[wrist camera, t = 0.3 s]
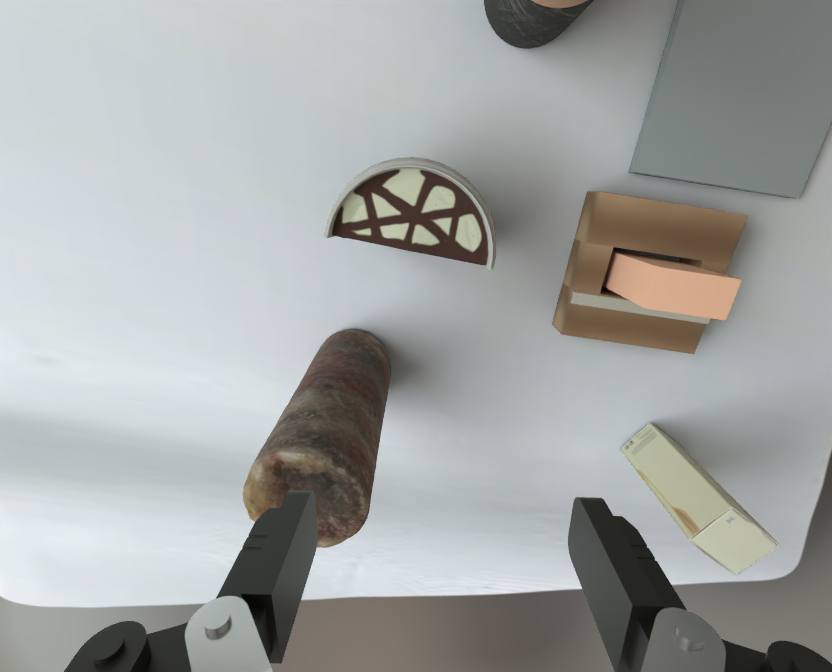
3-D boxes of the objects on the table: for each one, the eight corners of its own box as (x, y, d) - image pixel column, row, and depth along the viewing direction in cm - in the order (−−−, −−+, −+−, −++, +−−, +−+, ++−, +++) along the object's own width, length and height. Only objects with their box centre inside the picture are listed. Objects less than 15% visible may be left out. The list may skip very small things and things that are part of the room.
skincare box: (617, 448, 44) (684, 539, 33) (649, 420, 43) (730, 504, 32) (658, 481, 46) (737, 579, 34) (690, 454, 44) (783, 547, 33)
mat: (687, -30, 31) (695, -37, 30) (871, 1, 31) (884, -4, 30) (628, 172, 36) (634, 171, 35) (789, 197, 36) (799, 198, 35)
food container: (497, 180, 36) (523, 176, 27) (480, 251, 38) (498, 272, 29) (355, 150, 36) (329, 136, 26) (345, 224, 38) (317, 236, 28)
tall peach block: (605, 249, 38) (657, 266, 29) (671, 259, 38) (742, 279, 29) (596, 282, 39) (644, 308, 30) (660, 292, 39) (725, 320, 30)
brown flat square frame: (587, 191, 36) (602, 191, 33) (723, 213, 37) (751, 215, 33) (551, 324, 40) (562, 335, 37) (675, 342, 40) (696, 355, 37)
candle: (409, 369, 42) (395, 517, 23) (354, 411, 44) (300, 580, 25) (357, 312, 40) (295, 421, 21) (302, 358, 42) (200, 496, 23)
